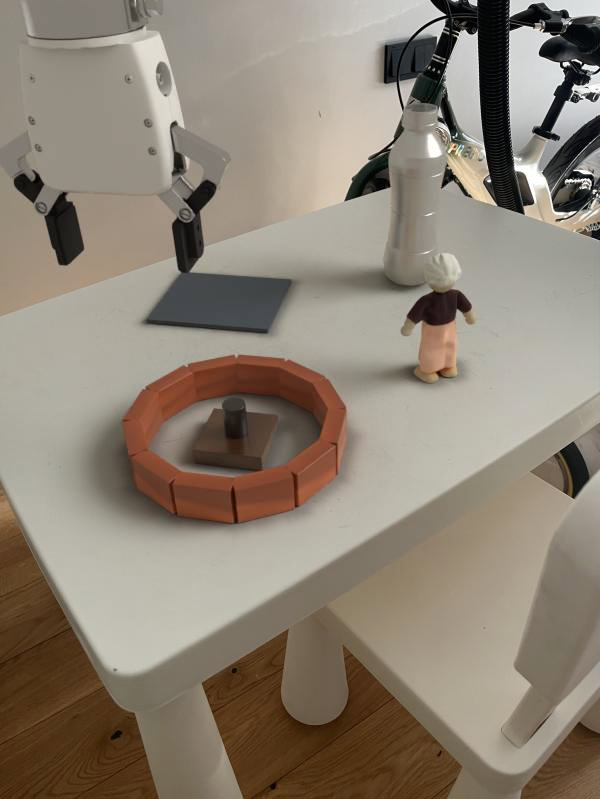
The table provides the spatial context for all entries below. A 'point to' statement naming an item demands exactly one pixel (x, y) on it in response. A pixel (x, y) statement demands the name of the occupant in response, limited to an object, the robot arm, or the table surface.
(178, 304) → the mat
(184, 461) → the table surface
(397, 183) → the plastic bottle
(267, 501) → the hoop
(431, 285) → the grandmother figurine
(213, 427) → the post
